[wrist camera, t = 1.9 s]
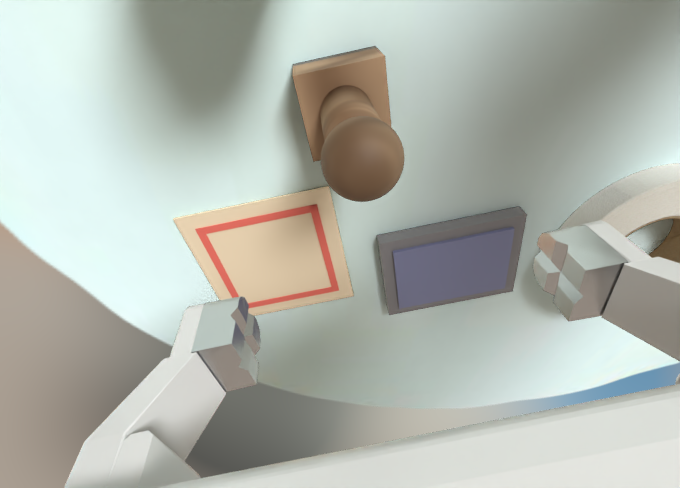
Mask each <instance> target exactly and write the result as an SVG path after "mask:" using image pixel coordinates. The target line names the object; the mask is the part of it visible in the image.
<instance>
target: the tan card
mask: <svg viewBox="0 0 680 488" xmlns="http://www.w3.org/2000/svg"><path fill="white" fill-rule="evenodd" d="M173 220H174V222H175V224H176V225H177V227H178V229H179V231H180V232H181V234H182V236H183V237H184V239H185V241H186V243H187V244H188V246H189V248H190V250H191V251H192V253H193V255H194V256H195V258H196V260H197V262H198V263H199V265H200V267H201V268H202V270H203V272H204V274H205V275H206V277H207V279H208V281H209V282H210V284H211V286H212V287H213V289H214V291H215V293H216V294H217V296H218V298H219V300H224V299H230V298H235V297H240V296H242V297H245V299H246V301H247V303H248V305H249V309H248V313H250V314H252V315H253V316H255V315H260V314H266V313H271V312H276V311H281V310H286V309H291V308H296V307H301V306H306V305H311V304H316V303H321V302H327V301H332V300H337V299H342V298H347V297H352V296H354V294H353V290H352V286H351V281H350V277H349V272H348V268H347V264H346V259H345V255H344V250H343V246H342V241H341V237H340V233H339V228H338V224H337V219H336V215H335V210H334V206H333V202H332V197H331V193H330V188H329V186H326V187H321V188H316V189H311V190H306V191H302V192H297V193H292V194H287V195H282V196H277V197H273V198H268V199H263V200H258V201H253V202H249V203H244V204H239V205H234V206H229V207H225V208H220V209H215V210H210V211H205V212H201V213H196V214H191V215H186V216H181V217H177V218H174V219H173Z"/></svg>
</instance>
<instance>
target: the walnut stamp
mask: <svg viewBox="0 0 680 488" xmlns="http://www.w3.org/2000/svg"><path fill="white" fill-rule="evenodd" d="M292 76H293V80H294V85H295V89H296V93H297V97H298V101H299V105H300V109H301V113H302V117H303V121H304V125H305V129H306V134H307V138H308V142H309V146H310V150H311V154H312V158H313V162H314V161H319V160H321V168H322V171H323V175H324V177H325V179H326V181H327V183H328V184H329V186H330V187H331V188H332V189H333V190H334V191H335V192H336V193H338V194H339V195H340V196H342V197H344V198H346V199H349V200H352V201H359V202H366V201H371V200H375V199H377V198H380V197H382V196H383V195H385V194H386V193H388V192H389V191H390V190H391V189H392V188H393V187H394V186H395V184H396V183H397V181H398V180H399V178H400V176H401V173H402V170H403V166H404V151H403V146H402V143H401V141H400V139H399V137H398V135H397V134H396V132H395V131H394V130H393V129H392V128H391V119H390V107H389V96H388V85H387V74H386V63H385V56H384V55H383V54H382V53H381V52H380V50H379V49H378V48H377V47H376V46H373V47H368V48H363V49H359V50H354V51H350V52H345V53H341V54H336V55H332V56H327V57H323V58H318V59H314V60H309V61H305V62H300V63H296V64H293V75H292Z"/></svg>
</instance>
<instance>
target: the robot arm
mask: <svg viewBox="0 0 680 488" xmlns="http://www.w3.org/2000/svg"><path fill="white" fill-rule="evenodd" d="M537 246H538V247H539V248H540V249H541V251H540V252H539V253H538V254H537V255H536V257H535V258H534V264H533V270H534V275H535V278H536V280H537V282H538V284H539V285H540V286H541V288H542V289H543V290H544V291H546V292H548V293H550V294H553V295H554V300H553V303H554V304H555V305H556V307H557V308H558V309H559V310H560V312H561V313H562V314H563V315H564V317H565V318H566V319H567V320H568V321H574V320H579V319H585V318H591V317H596V316H602V318H604V319H606V320H607V321H609V322H611V323H613V324H615V325H616V326H618V327H620V328H622V329H623V330H625V331H627V332H629V333H630V334H632V335H634V336H636V337H638V338H639V339H641V340H643V341H645V342H646V343H648V344H650V345H652V346H654V347H655V348H657V349H659V350H661V351H662V352H664V353H666V354H668V355H669V356H671V357H673V358H675V359H677V360H678V361H680V263H677V262H674V261H671V260H667V259H664V258H661V257H654V258H652V257H650V256H649V255H648V254H647V253H645V252H644V251H643V250H641V249H640V248H639V247H638V246H636V245H635V244H634V243H633V242H631V241H630V240H629V239H627V238H626V237H625V236H624V235H622V234H621V233H620V232H618V231H617V230H616V229H615V228H613V227H612V226H611V225H610V224H608V223H607V222H604V221H601V220H599V221H594V222H590V223H585V224H581V225H578V226H573V227H568V228H564V229H559V230H554V231H550V232H545V233H542V234H541V235H540V237H539V239H538V243H537ZM248 309H249V305H248V303H247V301H246V299H245V297H242V296H240V297H235V298H230V299H224V300H219V301H213V302H208V303H205V304H199V305H194V306H189V307H188V308H187V309H186V310H185V311H184V314H183V317H182V320H181V323H180V326H179V329H178V333H177V336H176V339H175V342H174V345H173V348H172V351H171V354H170V357H169V358H165V359H163V360H162V361H161V362H160V363H159V364H158V365H157V367H156V368H155V369H154V370H153V371H152V372H151V373H150V374H149V375H148V376H147V377H146V378H145V379H144V380H143V381H142V382H141V383H140V384H139V386H137V387H136V389H134V391H133V392H132V393H131V394H130V395H129V396H128V397H127V398H126V399H125V400H124V401H123V402H122V403H121V404H120V405H119V406H118V407H117V408H116V409H115V410H114V411H113V412H112V413H111V415H110V416H109V417H108V418H107V419H106V420H105V421H104V422H103V423H102V424H101V425H100V426H99V427H98V428H97V429H96V430H95V431H94V432H93V433H92V434H91V436H89V437H88V439H87V440H86V441H85V442H84V444H83V446H82V449H81V451H80V453H79V455H78V457H77V460H76V462H75V464H74V467H73V469H72V471H71V473H70V476H69V478H68V480H67V482H66V484H65V487H64V488H680V374H679V375H678V377H677V379H676V385H671V386H666V387H661V388H656V389H651V390H646V391H641V392H636V393H630V394H625V395H621V396H615V397H611V398H605V399H600V400H595V401H590V402H585V403H580V404H575V405H569V406H564V407H559V408H554V409H549V410H544V411H539V412H534V413H529V414H524V415H519V416H514V417H508V418H503V419H498V420H493V421H488V422H483V423H478V424H473V425H468V426H463V427H458V428H453V429H448V430H443V431H438V432H433V433H428V434H423V435H418V436H412V437H407V438H403V439H398V440H392V441H387V442H382V443H377V444H372V445H367V446H362V447H357V448H352V449H347V450H342V451H337V452H332V453H326V454H321V455H316V456H311V457H306V458H301V459H297V460H291V461H287V462H281V463H276V464H271V465H266V466H261V467H256V468H251V469H246V470H241V471H236V472H231V473H226V474H220V475H215V476H211V477H205V478H201V477H200V476H199V475H198V473H197V472H196V471H195V470H193V469H192V468H191V467H190V466H189V465H188V464H187V463H185V462H184V461H185V460H186V458H187V456H188V455H189V453H190V451H191V450H192V448H193V447H194V445H195V443H196V442H197V440H198V438H199V437H200V435H201V434H202V432H203V431H204V429H205V427H206V426H207V424H208V422H209V421H210V419H211V417H212V416H213V414H214V413H215V411H216V410H217V407H218V406H219V405H220V403H221V401H222V400H223V398H224V397H225V395H226V392H228V391H232V390H236V389H240V388H245V387H249V386H254V385H257V377H258V366H259V362H258V360H257V359H256V357H255V355H256V353H257V352H258V351H259V349H260V331H259V326H258V323H257V321H256V318H255V316H253V315H252V314H250V313H248Z"/></svg>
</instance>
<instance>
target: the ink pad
mask: <svg viewBox="0 0 680 488" xmlns="http://www.w3.org/2000/svg"><path fill="white" fill-rule="evenodd" d="M526 216H527V214H526V213H525V212H524V211H523V210H522V209H521V208H520V206H519V207H514V208H509V209H504V210H499V211H494V212H490V213H485V214H480V215H475V216H470V217H465V218H460V219H455V220H450V221H445V222H440V223H435V224H430V225H425V226H420V227H415V228H410V229H405V230H401V231H396V232H391V233H386V234H381V235H377V240H378V247H379V254H380V261H381V268H382V275H383V282H384V289H385V296H386V303H387V308H388V312H389V315H392V314H397V313H403V312H408V311H413V310H418V309H423V308H428V307H433V306H439V305H444V304H449V303H454V302H459V301H464V300H469V299H475V298H480V297H485V296H490V295H495V294H500V293H506V292H511V291H513V287H514V282H515V276H516V271H517V265H518V260H519V254H520V249H521V243H522V238H523V233H524V227H525V222H526Z"/></svg>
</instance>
